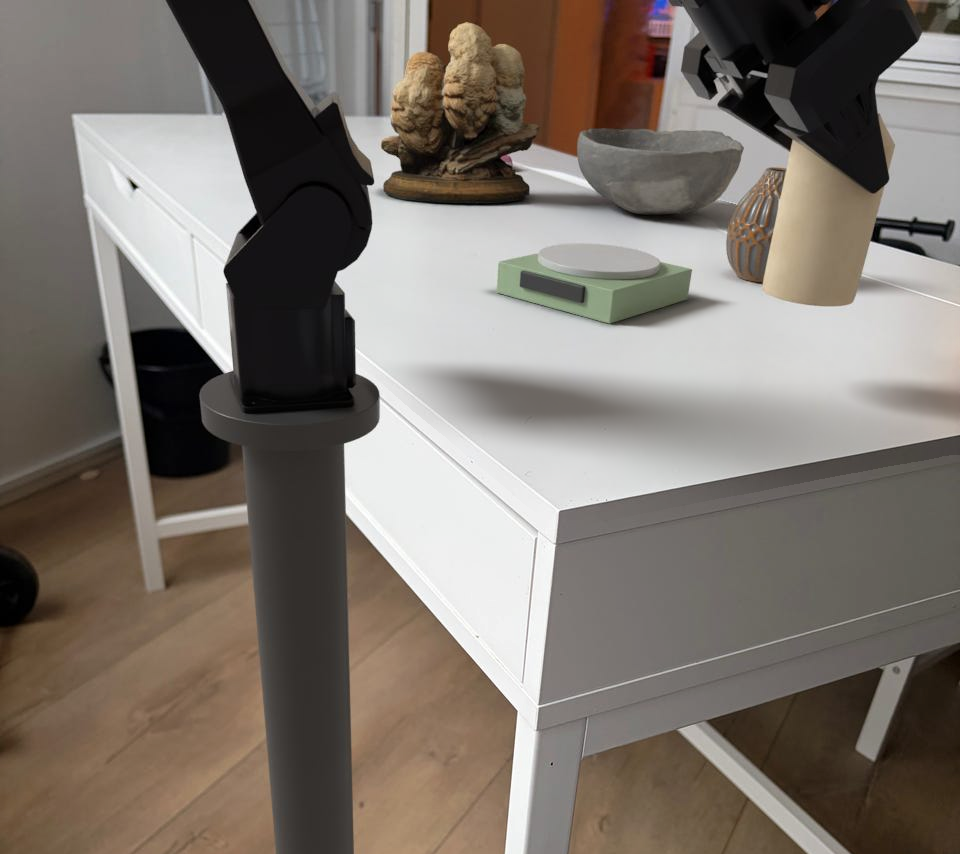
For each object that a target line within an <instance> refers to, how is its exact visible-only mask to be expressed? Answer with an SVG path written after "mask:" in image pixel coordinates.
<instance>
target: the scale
mask: <svg viewBox="0 0 960 854" xmlns="http://www.w3.org/2000/svg"><path fill="white" fill-rule="evenodd" d="M497 267H498V268H497V278H496V279H497V280H496V282H497V283H496V293H497V294H499V295H504V296H508V297H511V298H515V299H518V300H522V301H525V302H529V303H532V304H537V305H541V306H544V307H547V308H551V309H555V310H558V311H562V312H565V313H570V314H573V315H577V316H580V317H583V318H587V319H591V320H594V321H599V322H602V323H605V324H609V325H610V324H613V323H616V322H619V321H622V320H626V319H629V318H632V317H635V316H638V315H639V316H640V315H643V314H645V313H649V312H652V311H655V310H658V309H661V308H664V307H668V306H671V305H674V304H677V303H681V302H684V301H687V300H688V299H689V298H688V297H689V292H690V287H691V286H690V285H691V281H692V273H693V269H692V268H689V267H685V266H681V265H676V264H671V263H667V262H664V261H661V260H660V259H659V258H658V257H656V256H655V255H653V254H651V253H648V252H646V251H642V250H639V249H635V248H631V247H625V246H618V245H612V244H600V243H584V242H583V243H580V242H579V243H561V244H554V245H550V246H549V245H548V246H545V247H543V248H542V249H540V250H539V251H538V252H537V253H533V254H528V255H524V256H518V257H513V258H509V259H505V260H500V261H498V263H497Z"/></svg>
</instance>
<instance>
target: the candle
mask: <svg viewBox="0 0 960 854" xmlns="http://www.w3.org/2000/svg"><path fill="white" fill-rule="evenodd" d="M878 117H879V123H880V128H881V134H882V139H883V145H884V150H885V156H886V161H887V167H888V172H889V170H890V167H891V163H892V159H893V156H894V151H895V148H896V143H895V141H894V140H893V138H892V136H891V134H890V132H889V130H888V128H887V126H886V125H885V122H884V120H883V117H882V115H881V113H880V112H878ZM885 186H886V185H885ZM885 186H884V187H882V188H881V189H880V190H879V191H878V192H876V193H874V194H872V193H869V192H868V191H866V190H865V189H863V188H862V187H860V186H859V185H857V184H856V183H855V182H853V181H852V180H850V179H849V178H847V177H846V176H845V175H843V174H842V173H840V172H839V171H837V170H836V169H835V168H833V167H832V166H830V165H829V164H827V163H826V162H825V161H823V160H822V159H820V158H819V157H818V156H816V155H815V154H813V153H812V152H810V151H809V150H808V149H806V148H805V147H803V146H802V145H800V144H799V143H797V142H796V141H795V140H793V141H792V146H791V150H790V152H789V156H788V161H787V165H786V174H785V179H784V184H783V188H782V193H781V198H780V203H779V207H778V212H777V217H776V222H775V227H774V231H773V236H772V241H771V246H770V250H769V255H768V260H767V265H766V269H765V275H764V280H763V283H762V292H764V293H765V294H766V295H769V296H770V297H772V298H774V299H778V300H781V301H785V302H789V303H794V304H800V305H805V306H812V307H813V306H814V307H843V306H849V305H851V304H853V303H854V302H855V298H856V296H857V293H858V289H859V286H860V282H861V279H862V275H863V271H864V267H865V263H866V259H867V255H868V253H869V252H868V251H869V248H870V243H871V240H872V236H873V234H874V233H873V232H874V229H875V225H876V221H877V217H878V213H879V209H880V206H881V202H882V197H883V194H884V191H885Z"/></svg>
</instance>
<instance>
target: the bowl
mask: <svg viewBox="0 0 960 854" xmlns="http://www.w3.org/2000/svg"><path fill="white" fill-rule="evenodd" d="M576 143H577V144H576V145H577V146H576V152H577V155H576V156H577V162H578V166H579V170H580V173H581V174H582V176H583V178H584V179H585V180H586V182H587V183H588V184H589V186H590V188H592V189H593V190H594V191H595V192H596V193H597V194H599V195H600V196H601V197H603V198H605V199H607V200H608V201H610V202H611V203H613V204H615V205H617V206H618V207H620V208H622V209H623V210H625V211H627V212H630V213H633V214H639V215H643V216H644V215H646V216H657V215H658V216H662V215H674V214H675V215H676V214H688V213H691V212H693V211H697V210H700V209H703V208H705V207H707V206H709V205H711V204H713V203H714V202H716V201H717V200H718V199H719V198H721V196H722V195H723V194H724V193H725V192H726V190H727V189H728V187H729V186H730V184H731V182H732V180H733V178H734V177H735V175H736V174H737V172H738V169H739V167H740V164H741V161H742V155H743V152H744V151H745V150H744V149H745V147H744V146H743V145H742V143H741V142H740V141H738V140H737V139H734V138H732V137H731V136H730V135H725V134H724V133H723V132H721V131H718V130H717V131H716V130H704V129H703V130H701V129H700V130H685V129H684V130H683V129H682V130H681V129H680V130H673V131H668V130H663V131H662V130H661V131H655V130H653V129H649V128H639V129H629V128H627V129H616V128H603V127H602V128H589V129H588V130H586V129H583V130H582V131H580V132H579V135H578V138H577V142H576Z"/></svg>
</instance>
